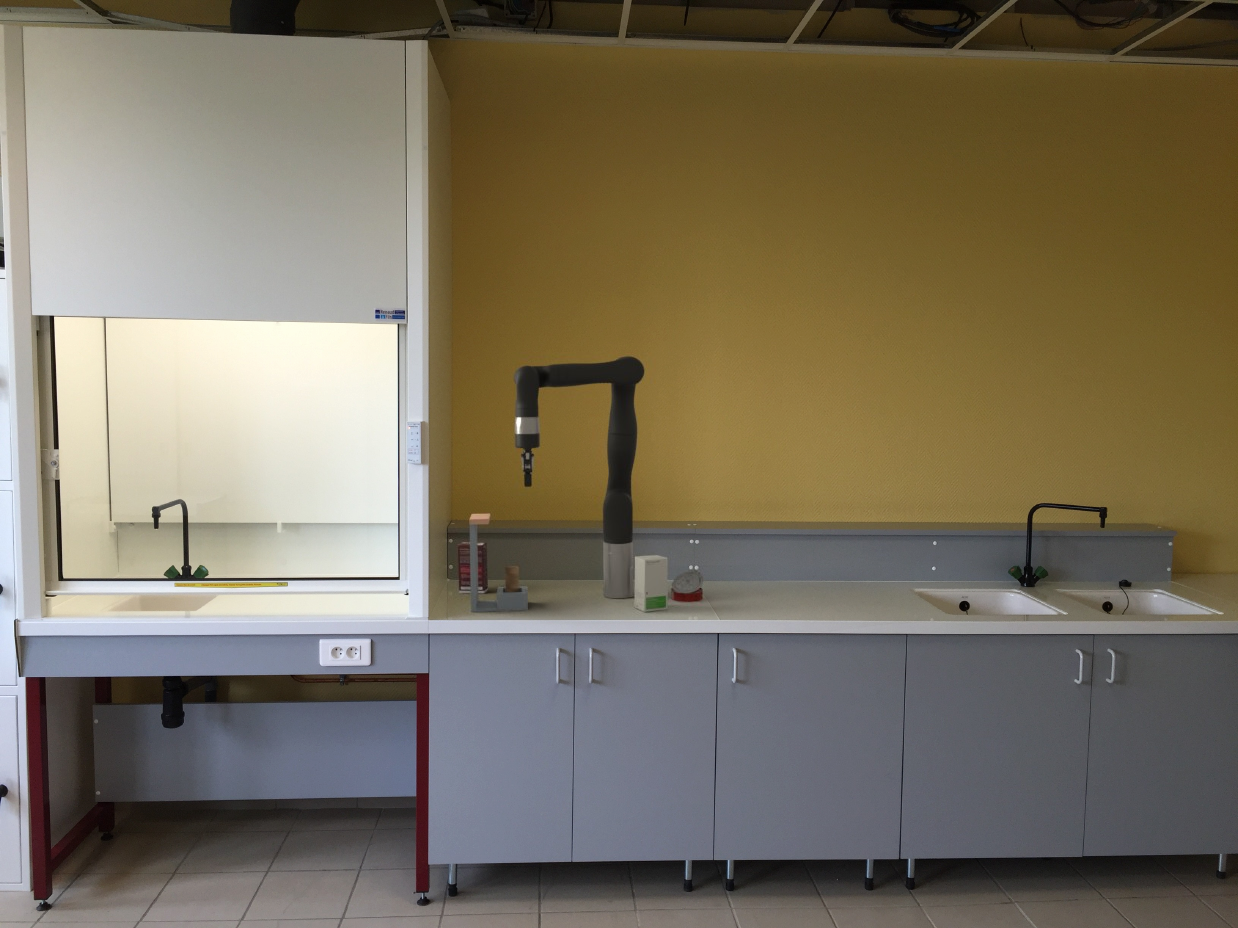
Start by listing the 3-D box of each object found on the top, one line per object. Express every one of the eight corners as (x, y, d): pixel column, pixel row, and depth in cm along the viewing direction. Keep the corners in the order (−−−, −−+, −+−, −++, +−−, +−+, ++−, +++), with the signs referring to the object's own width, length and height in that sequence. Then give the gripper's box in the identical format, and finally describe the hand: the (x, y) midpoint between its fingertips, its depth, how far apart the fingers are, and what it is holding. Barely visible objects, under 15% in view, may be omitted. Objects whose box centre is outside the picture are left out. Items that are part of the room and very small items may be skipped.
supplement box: (488, 590, 268) (487, 542, 266) (484, 593, 263) (483, 544, 261) (462, 589, 268) (461, 541, 267) (458, 593, 264) (457, 544, 262)
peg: (519, 604, 249) (518, 565, 248) (519, 607, 245) (518, 568, 244) (505, 604, 249) (505, 565, 248) (505, 608, 245) (504, 568, 244)
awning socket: (527, 601, 253) (526, 512, 251) (527, 610, 242) (526, 518, 240) (473, 602, 251) (471, 513, 249) (470, 612, 240) (469, 519, 238)
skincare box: (644, 612, 240) (644, 560, 239) (633, 607, 246) (633, 556, 244) (668, 609, 244) (668, 557, 242) (657, 604, 250) (657, 553, 248)
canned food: (703, 613, 256) (712, 589, 252) (673, 613, 253) (683, 588, 248) (691, 589, 265) (700, 565, 261) (663, 588, 262) (671, 564, 257)
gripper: (540, 433, 243) (540, 487, 244) (539, 430, 257) (539, 482, 258) (514, 433, 242) (515, 488, 243) (515, 431, 256) (515, 482, 257)
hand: (528, 485), depth 251 cm, fingers open, 8 cm apart
